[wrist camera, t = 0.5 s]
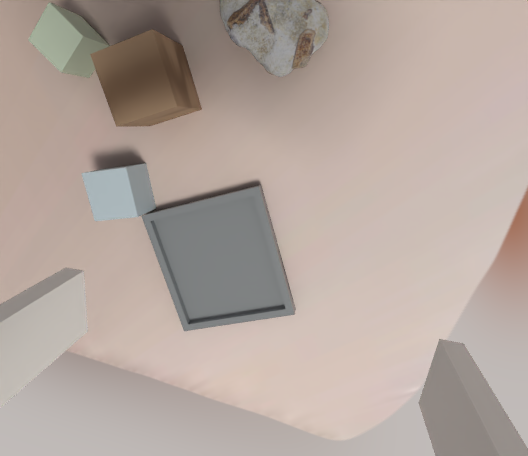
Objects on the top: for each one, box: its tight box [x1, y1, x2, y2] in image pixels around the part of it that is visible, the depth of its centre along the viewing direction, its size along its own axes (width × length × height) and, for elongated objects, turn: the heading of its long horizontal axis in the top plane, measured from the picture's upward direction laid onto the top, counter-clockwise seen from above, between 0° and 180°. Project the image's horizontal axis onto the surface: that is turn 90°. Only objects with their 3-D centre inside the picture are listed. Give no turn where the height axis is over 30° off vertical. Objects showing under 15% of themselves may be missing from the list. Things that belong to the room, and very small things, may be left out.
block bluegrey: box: [82, 163, 156, 221], centre depth 36 cm, size 5×5×4 cm
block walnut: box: [90, 29, 202, 126], centre depth 31 cm, size 6×6×6 cm
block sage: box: [28, 2, 110, 78], centre depth 32 cm, size 4×4×4 cm
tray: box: [142, 184, 295, 331], centre depth 38 cm, size 15×14×1 cm
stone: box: [220, 0, 329, 77], centre depth 29 cm, size 10×7×3 cm
